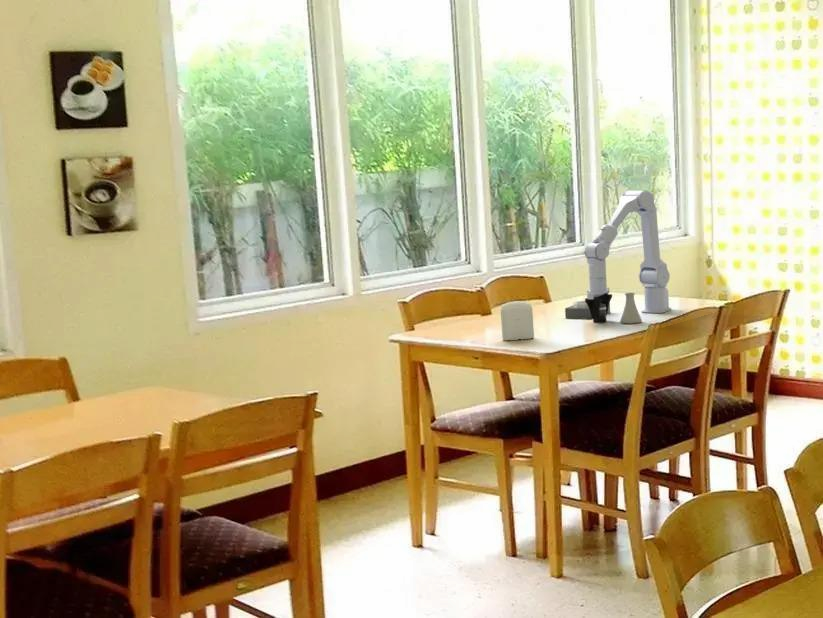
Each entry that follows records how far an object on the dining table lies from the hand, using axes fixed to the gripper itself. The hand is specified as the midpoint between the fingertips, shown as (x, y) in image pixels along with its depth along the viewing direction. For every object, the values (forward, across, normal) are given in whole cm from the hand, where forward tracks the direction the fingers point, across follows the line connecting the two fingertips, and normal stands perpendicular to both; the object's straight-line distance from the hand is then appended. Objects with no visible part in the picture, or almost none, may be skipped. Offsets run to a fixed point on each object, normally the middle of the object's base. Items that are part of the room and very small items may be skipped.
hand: (599, 317), depth 416 cm
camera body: (+2, -13, -10) cm, 16 cm away
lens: (+2, 0, 0) cm, 2 cm away
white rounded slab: (+2, +36, -13) cm, 38 cm away
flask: (+2, -1, +11) cm, 11 cm away
